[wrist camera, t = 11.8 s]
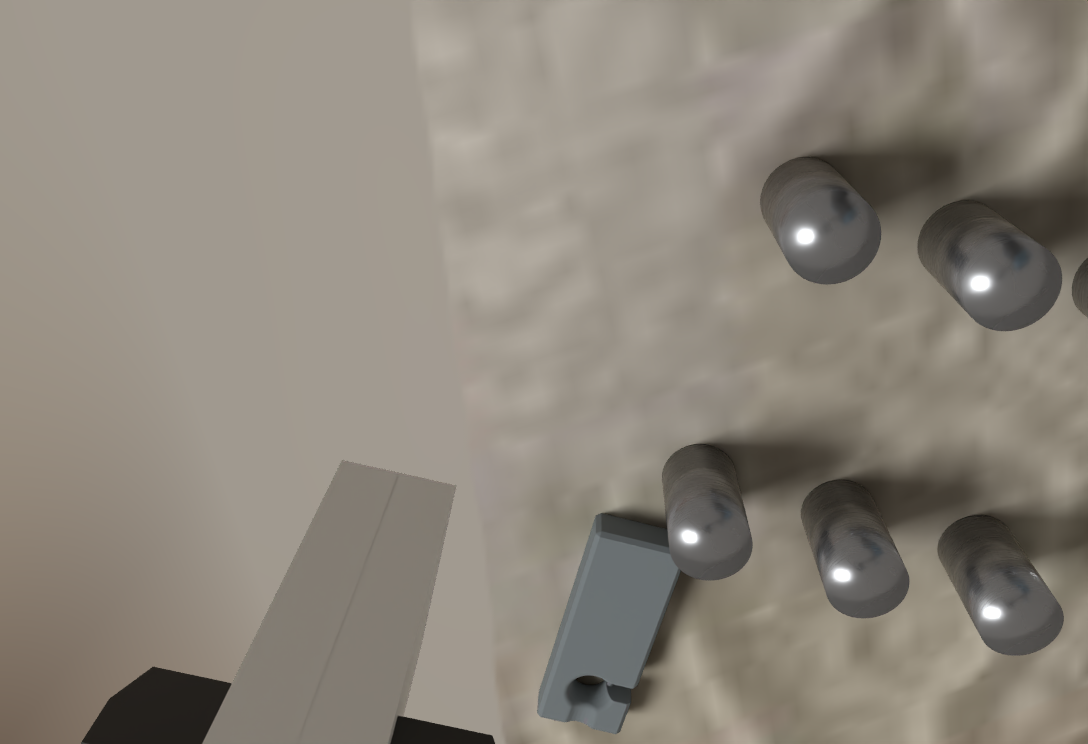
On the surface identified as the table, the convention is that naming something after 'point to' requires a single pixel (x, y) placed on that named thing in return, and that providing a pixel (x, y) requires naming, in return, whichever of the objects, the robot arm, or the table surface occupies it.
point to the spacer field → (846, 507)
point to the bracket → (609, 623)
